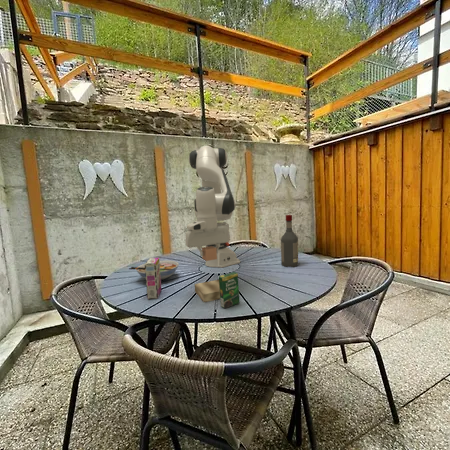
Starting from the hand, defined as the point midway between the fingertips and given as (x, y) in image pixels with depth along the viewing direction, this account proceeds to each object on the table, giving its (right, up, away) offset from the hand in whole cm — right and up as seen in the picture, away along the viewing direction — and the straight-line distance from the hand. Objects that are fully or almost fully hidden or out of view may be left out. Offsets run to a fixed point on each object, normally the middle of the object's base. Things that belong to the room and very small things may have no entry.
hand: (209, 254), depth 118 cm
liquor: (+46, -11, +40) cm, 62 cm away
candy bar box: (-26, -20, +6) cm, 33 cm away
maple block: (+1, -19, +2) cm, 19 cm away
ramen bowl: (-29, -17, +28) cm, 44 cm away
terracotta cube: (0, -2, 0) cm, 2 cm away
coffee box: (+9, -20, -10) cm, 24 cm away
